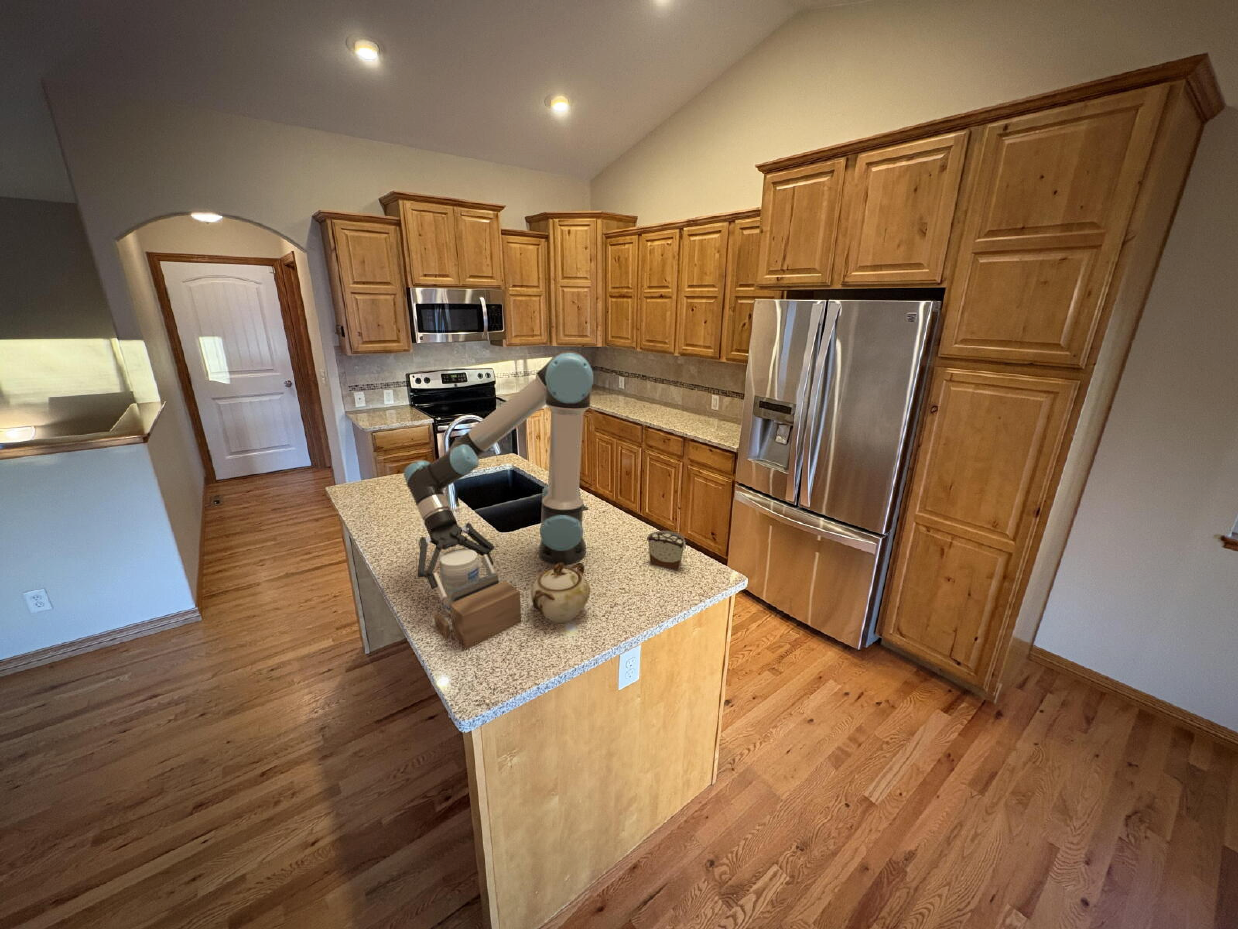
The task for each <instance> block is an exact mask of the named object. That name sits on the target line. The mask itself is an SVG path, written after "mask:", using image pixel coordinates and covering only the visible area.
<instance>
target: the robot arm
mask: <svg viewBox="0 0 1238 929" xmlns="http://www.w3.org/2000/svg"><path fill="white" fill-rule="evenodd" d="M593 385H594V372H593V369H592V367H591V364H590V363H589V361H588V360H587V359H586V357H585V356H584V355H583V354H582V353H580V352H578V351H576V350H572V349H565V350H561V351H558V352H557V353H555V354H554V355H553V356H552V358H551V359H550V360H549V361H548V362H547V363H546V364H545V365H544V366H543V367H541V369H540V370H538V371H537V372H536V373H535V378H534V379H533V380H532V381H530V382H529V383H527V384H526V385H525V386H524V387H523V388H521V389H520V390H519V391H517V392H516V393H515V394H514V395H512V396H511V397H510V398H509V399H508V400H506V401H505V402H504V403H502V404H501V405H499V407H497V408H496V409H495V410H493V411H492V412H491V413H490V414H489V415H487V416H486V417H485V418H483V419H482V420H480V421H479V422H478V423H477V424H475V426H472V428H470V430H468V431H466V433H464V434H463V435H461V436H459V437H458V438H456V439H455V440H454V441H453V442H452V444H451V446H450V447H449V449H447V451H446V452H445V454H443V455H442V456H440V457H438V458H437V459H436V460H434V461H433V462H429V461H427V460H419V461H418V460H417V461H416V462H412V463H410V464H409V465H407V466H406V467H405V469H404V470H403V477H404V480H405V482H406V486H407V488H408V490H409V492H410V493H411V496H412V498H413V500H414V504H415V505H416V507H417V510H418V512H419V515H420V517H421V520H422V521H423V525H424V526H425V530H426V531H427V533H428V535H429V536H428V537H425V536H421V537H420V539H419V540H418V546H419V558H418V566H417V578H418V579H419V578H420V579H422V578H425V579H426V580H427V581H428V584H429V586H430V588H431V589H432V590H433V589H435V590H436V592H437V594H438V596H439V600H440V602H442V601H443V600H444V599H445V598H446V597H447V595H446V593H445V591H444V588H443V586H442V583H441V578H440V576H439V575H438V572H434V571H435V570H434V569H435V567H436V565H437V562H438V560H439V559H438V558H440V557H439V556H440V554H441V551H442V550H448V549H449V548H454V547H456V546H457V545H459V546H461V547H464V548H465V549H471V550H474V551H475V552H476V553H477V555H480V556H481V558H480V560H481V562H482V564H483V567H484V568H485V571H486V574H487V575H490V574H492V573H496V572H495V570H494V568H493V565H494V564H495V563H494V559H493V558H492V556H491V552H492V551H493V550H494V549H495V546H494V544H492V542H490V541H489V540H488V539H486V537H484V536H483V535H481V533H480V532H478V531H477V530H476V529H475V528H474V527H473V525H472V524H471V523H470V522H467V523H466V524H465V525H462V526H459V524H458V521H457V519H456V516H455V514H454V512H453V510H451V506H450V503H449V502H448V499H447V497H446V495H445V492H444V489H446V488H447V487H448V486H450V485H451V484H454V483H455V482H457V481H458V480H460V479H461V478H463V477H465V476H467V475H469V474H471V473H472V472H473V471H474V470H476V469H477V468H478V467H479V465H480V462H479V457H480V456H482V454H484V453H485V452H486V451H487V450H489V449H490V448H491V447H493V446H494V445H495V444H497V443H498V442H499V441H501V440H502V439H503V438H504V437H506V436H507V435H508V434H510V432H512V431H513V430H514V429H516V428H517V427H519V426H520V425H521V424H522V423H524V422H525V421H526V420H528V419H529V418H531V416H533V415H534V414H535V413H537V412H538V411H540V409H542V408H543V407H545V406H547V407H548V408H549V410H550V430H549V431H550V432H549V437H550V438H549V453H548V454H549V456H548V458H549V459H548V476H547V477H548V480H547V486H545V487H544V488H543V489H542V494H541V497H542V499H541V514H540V516H541V517H540V518H541V519H540V527H539V535H540V538H541V540H540V542H539V547H538V556H539V558H540V559H541V560H542V561H543V562H545V563H547V564H551V565H557V564H558V563H563V564H564V566H566V565H571V564H574V563H575V564H576V562H577V563H579V561H581V560H583V559H584V558H585V557H586V555H587V544H586V542H585V539H584V536H583V535H584V528H583V515H584V499H583V498H582V497H581V496H582V495H581V490H580V489H581V488H580V480H581V479H580V477H581V460H582V445H583V444H582V442H583V429H584V416H585V415H584V413H585V412H586V411H587V410H588V409H590V407H591V396H592V395H591V394H592V392H591V391H592V388H593ZM463 533H464V534H467V536H469V538H471V539H468V538H467V536H465V535H463ZM430 543H431V544H433V545H434V546H435V548H434V551H433V553H432V554H433V555H432V557H431V559H430V562H429V564H428V567H427V569H426V563H427V552H428V546H429V545H430Z"/></svg>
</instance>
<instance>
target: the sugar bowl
mask: <svg viewBox="0 0 1238 929" xmlns="http://www.w3.org/2000/svg"><path fill="white" fill-rule="evenodd" d="M584 573H585V565H584V563H582V562H577V563H575V564H573V565H571V566H570V567H565V565H564V564H563V563H558V564H555V566H554V568H551V569H548V570H545V571H544V572H542V573H541V574H540V575H539V576H538V577H537V578H536V579H535V581H534V582H533V584H532V586H531V590H530V599H531V601H532V605H533V608H534V609H535V610H537V611H538V612H539V613H540V614H541V615H543V616H544V617H546V618H547V620H548V621H550V622H553V623H556V624H563V623H567V622H571V621H572V620H573V619H575V618H576V617H577V616H578V614H579V613H580V612H581V611H582V609H584V608H585V605H586V604H587V603H588V600H589V598H590V595H591V588H590V587H591V586H590V584H589V582H588V580H587V578H586V577H585V576H584Z"/></svg>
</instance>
